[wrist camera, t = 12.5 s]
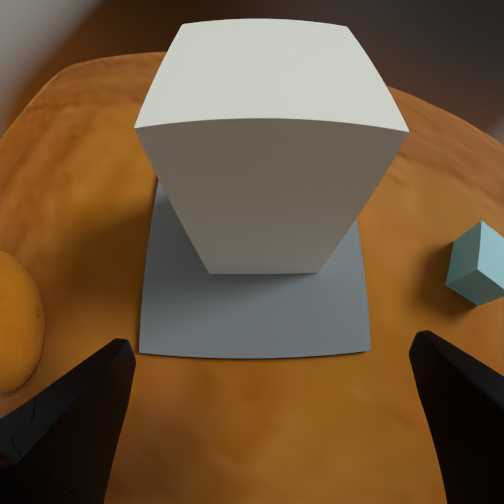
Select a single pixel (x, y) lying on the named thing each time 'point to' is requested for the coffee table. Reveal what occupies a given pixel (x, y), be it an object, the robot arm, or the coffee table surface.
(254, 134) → the tall white pillar
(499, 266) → the block
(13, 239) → the coffee table surface
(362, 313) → the mat
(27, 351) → the fruit
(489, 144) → the coffee table surface
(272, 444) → the coffee table surface
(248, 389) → the coffee table surface
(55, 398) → the robot arm
